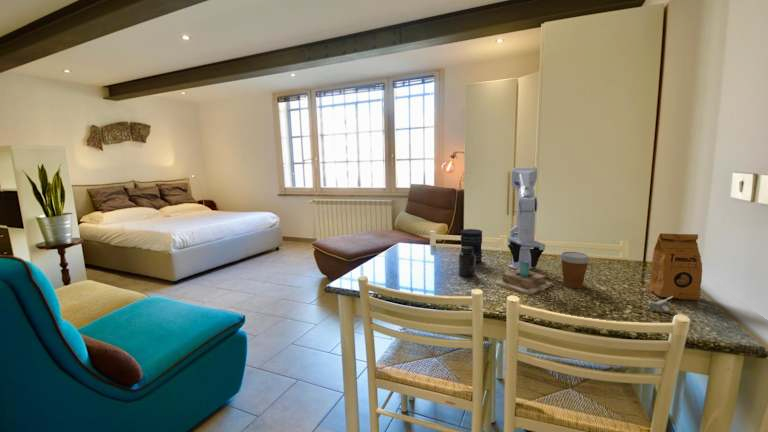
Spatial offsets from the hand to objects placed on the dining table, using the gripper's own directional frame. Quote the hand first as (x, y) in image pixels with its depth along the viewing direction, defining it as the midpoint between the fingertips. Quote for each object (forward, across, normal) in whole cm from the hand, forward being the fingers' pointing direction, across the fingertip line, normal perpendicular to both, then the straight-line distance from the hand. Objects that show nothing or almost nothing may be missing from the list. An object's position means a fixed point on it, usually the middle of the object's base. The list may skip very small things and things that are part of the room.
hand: (524, 264), depth 129 cm
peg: (+7, 0, 0) cm, 7 cm away
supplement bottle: (+8, -21, -9) cm, 24 cm away
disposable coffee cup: (+8, +11, +14) cm, 20 cm away
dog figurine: (+8, +38, +14) cm, 41 cm away
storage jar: (+8, -33, +6) cm, 34 cm away
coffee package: (+8, +36, +31) cm, 48 cm away
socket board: (+8, 0, 0) cm, 8 cm away
